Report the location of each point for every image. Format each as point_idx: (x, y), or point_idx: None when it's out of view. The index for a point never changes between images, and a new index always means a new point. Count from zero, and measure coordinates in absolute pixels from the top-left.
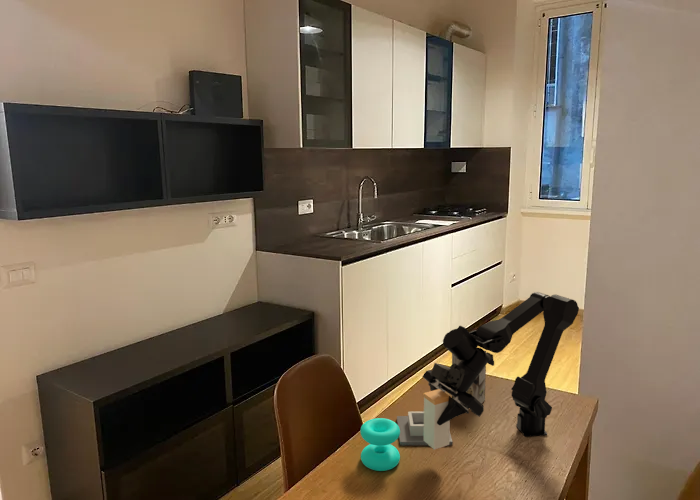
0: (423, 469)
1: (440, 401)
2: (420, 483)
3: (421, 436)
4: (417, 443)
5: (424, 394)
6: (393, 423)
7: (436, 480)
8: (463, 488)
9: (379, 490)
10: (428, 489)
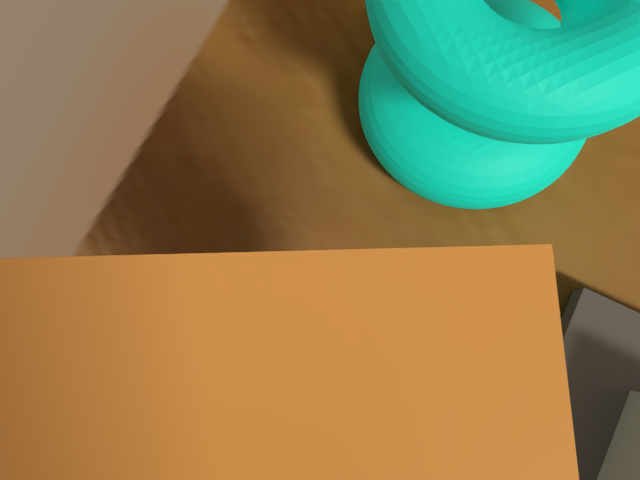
0: None
1: None
2: (202, 202)
3: (595, 459)
4: None
5: (466, 256)
6: (546, 63)
7: None
8: None
9: (253, 11)
10: (143, 211)
